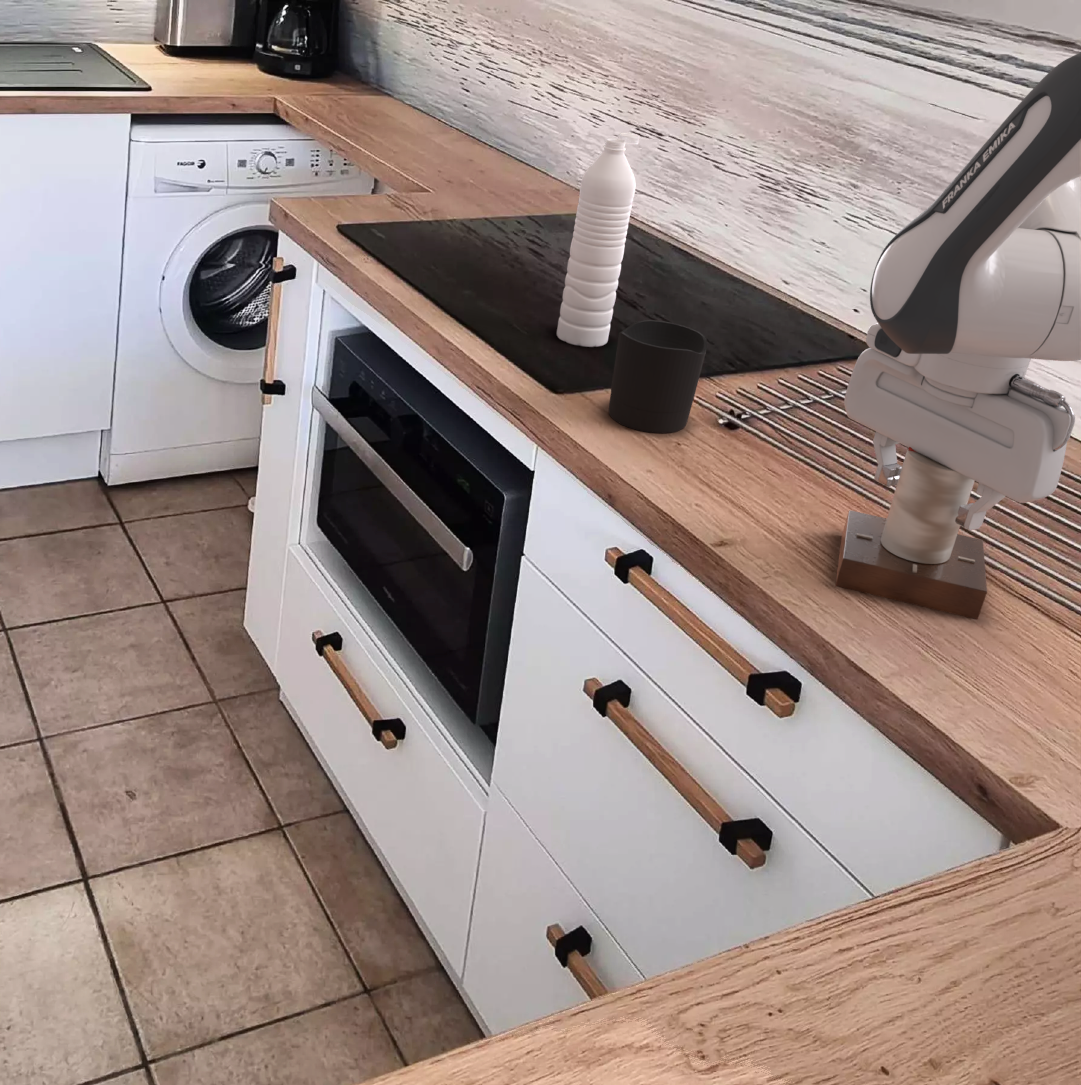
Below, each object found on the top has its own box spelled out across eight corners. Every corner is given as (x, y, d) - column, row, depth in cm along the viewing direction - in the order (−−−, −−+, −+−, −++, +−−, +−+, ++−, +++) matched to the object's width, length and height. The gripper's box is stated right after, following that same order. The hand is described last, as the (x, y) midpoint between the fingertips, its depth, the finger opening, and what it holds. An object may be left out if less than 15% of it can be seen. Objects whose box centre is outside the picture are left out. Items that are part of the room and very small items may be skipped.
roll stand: (973, 568, 132) (983, 538, 130) (977, 621, 123) (987, 590, 121) (841, 537, 135) (849, 508, 134) (834, 588, 126) (843, 556, 124)
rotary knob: (949, 542, 129) (979, 448, 125) (950, 570, 124) (981, 473, 120) (881, 527, 131) (908, 434, 126) (879, 554, 126) (907, 458, 121)
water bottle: (595, 352, 176) (631, 148, 165) (547, 339, 179) (580, 137, 167) (622, 335, 183) (658, 138, 171) (575, 323, 186) (608, 128, 174)
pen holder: (705, 435, 155) (724, 348, 150) (628, 439, 152) (646, 350, 147) (663, 402, 163) (680, 319, 158) (589, 405, 160) (605, 320, 155)
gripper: (1105, 397, 113) (1049, 551, 119) (902, 314, 128) (862, 454, 134) (1056, 406, 110) (1001, 563, 116) (854, 320, 125) (815, 463, 131)
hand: (925, 504), depth 125 cm, fingers open, 8 cm apart
